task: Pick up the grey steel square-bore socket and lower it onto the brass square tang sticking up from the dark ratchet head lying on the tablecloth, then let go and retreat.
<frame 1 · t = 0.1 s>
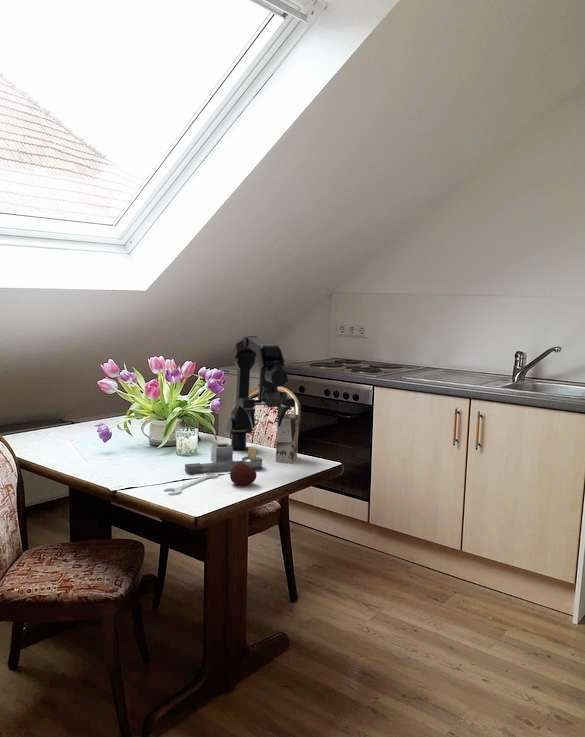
hand: (266, 427, 223), 15 cm above the table, fingers open, 9 cm apart
socket: (221, 462, 230), on the table
potato: (243, 485, 206), on the table
coffee box: (286, 459, 238), on the table
wrench: (192, 485, 205), on the table
ratchet: (251, 467, 225), on the table
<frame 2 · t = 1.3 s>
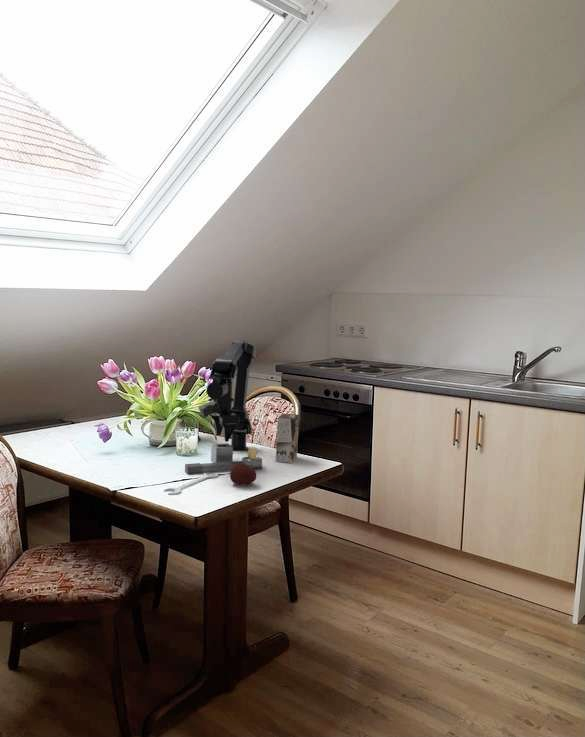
hand: (222, 438, 229), 9 cm above the table, fingers open, 9 cm apart
nothing on the table moved.
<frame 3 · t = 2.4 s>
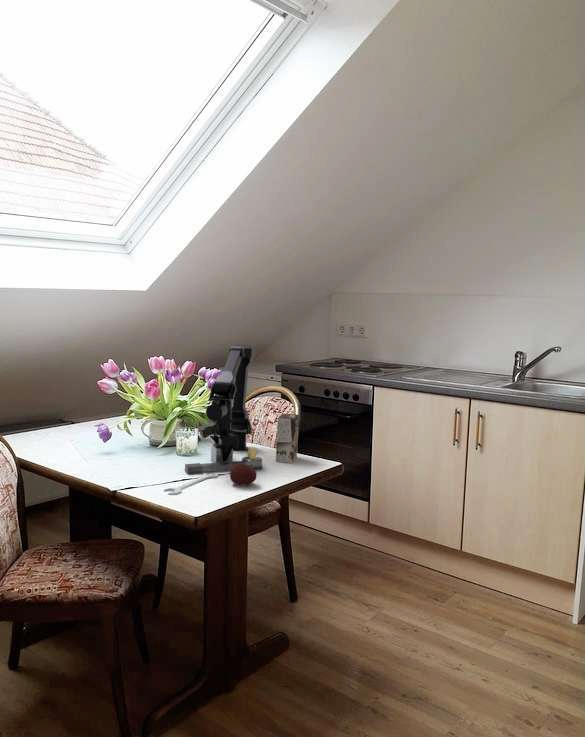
hand: (221, 458, 230), 1 cm above the table, fingers closed on socket, 6 cm apart
socket: (221, 462, 230), on the table, touching gripper
everything else where it was.
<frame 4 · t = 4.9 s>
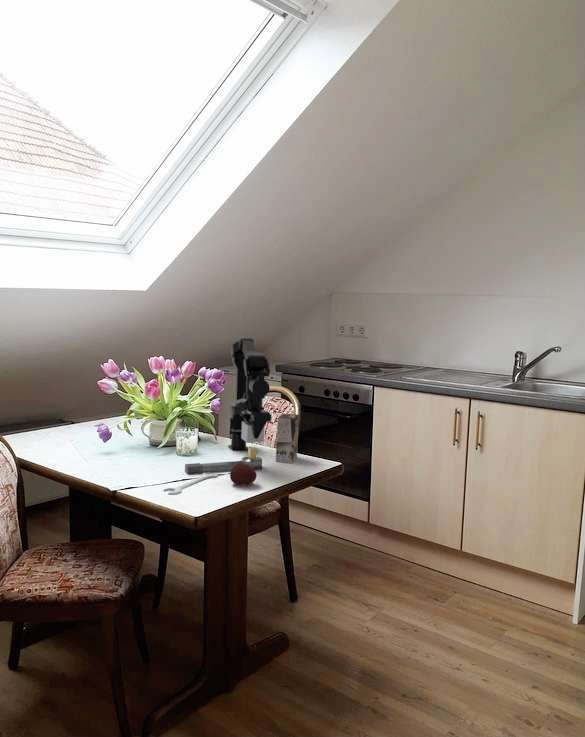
hand: (252, 436, 224), 11 cm above the table, fingers closed on socket, 6 cm apart
socket: (252, 439, 224), point 10 cm above the table, touching gripper
everything else where it was.
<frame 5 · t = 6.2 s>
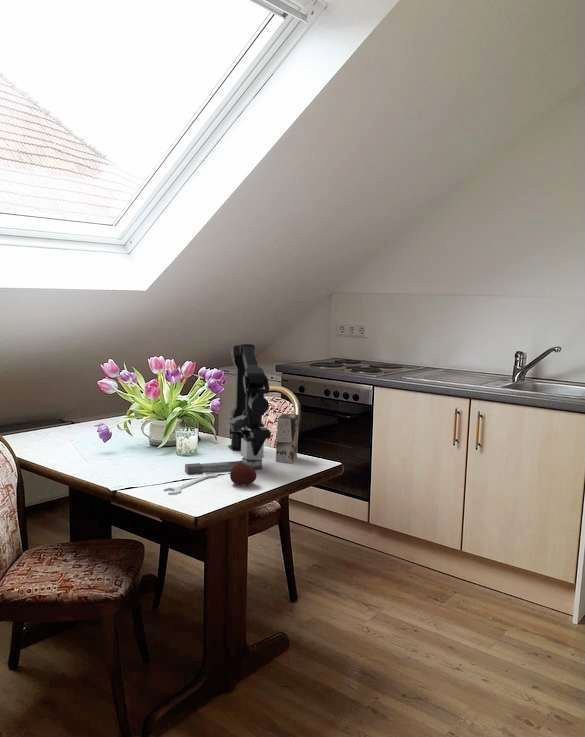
hand: (252, 452, 225), 5 cm above the table, fingers closed on socket, 6 cm apart
socket: (251, 456, 225), point 4 cm above the table, touching gripper
everything else where it was.
when the fingers open (5 cm above the table, at t = 7.3 s): socket stays where it is, resting on ratchet.
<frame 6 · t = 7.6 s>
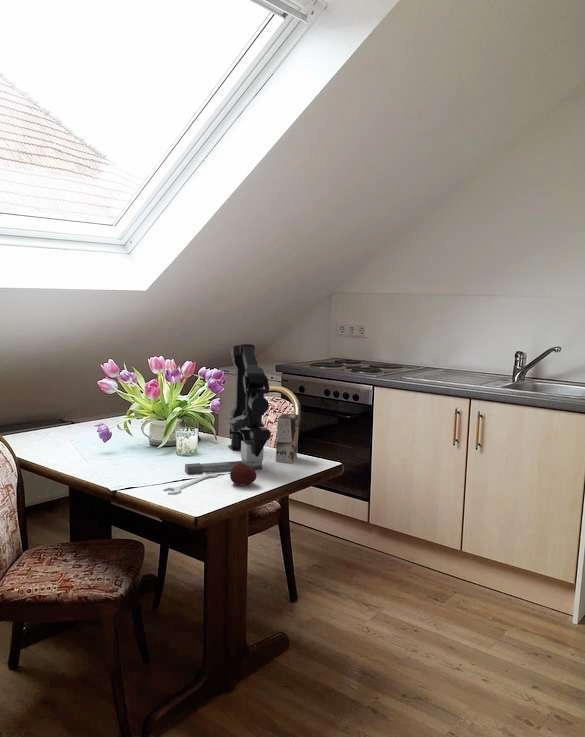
hand: (252, 452, 225), 5 cm above the table, fingers open, 9 cm apart
socket: (251, 459, 225), point 3 cm above the table, touching ratchet
everything else where it was.
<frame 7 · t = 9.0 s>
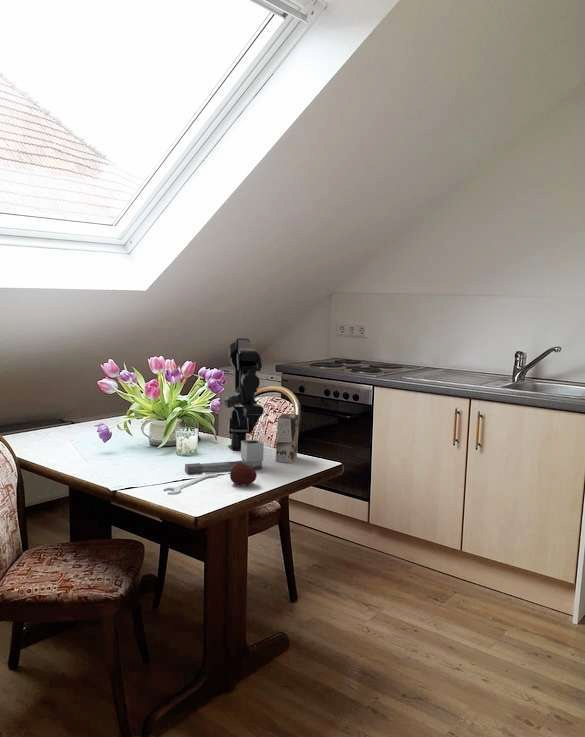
hand: (245, 429, 231), 12 cm above the table, fingers open, 9 cm apart
nothing on the table moved.
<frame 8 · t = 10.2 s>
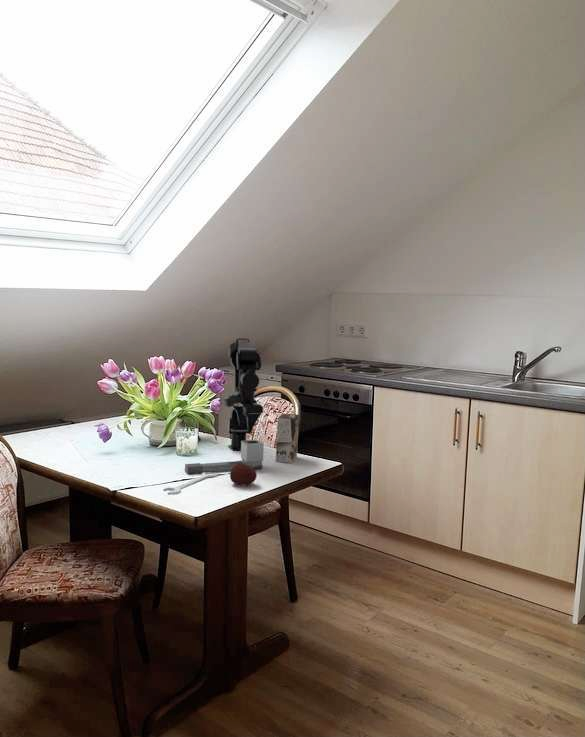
hand: (245, 428, 231), 12 cm above the table, fingers open, 9 cm apart
nothing on the table moved.
at the end: socket 0.1 cm off-centre on the ratchet, point 3.0 cm above the ratchet's base; socket tilted 0°; the gripper is holding nothing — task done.
